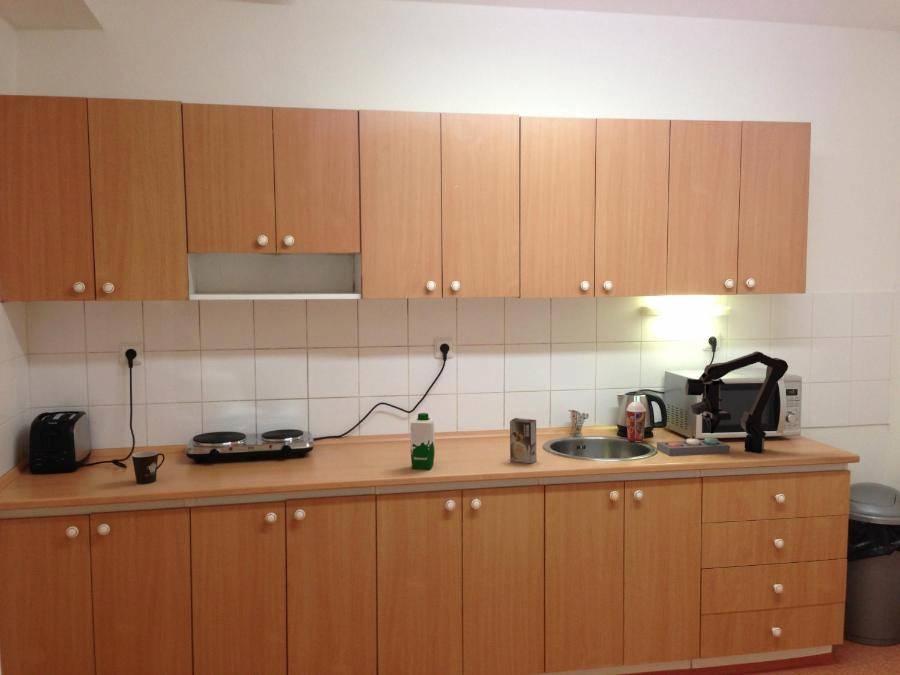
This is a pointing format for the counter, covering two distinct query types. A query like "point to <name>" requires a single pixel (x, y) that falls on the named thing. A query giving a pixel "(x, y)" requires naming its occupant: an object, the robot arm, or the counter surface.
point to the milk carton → (422, 442)
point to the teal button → (711, 441)
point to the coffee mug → (146, 466)
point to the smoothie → (635, 420)
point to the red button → (674, 444)
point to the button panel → (692, 448)
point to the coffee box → (523, 440)
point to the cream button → (692, 442)
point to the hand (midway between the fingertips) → (711, 433)
